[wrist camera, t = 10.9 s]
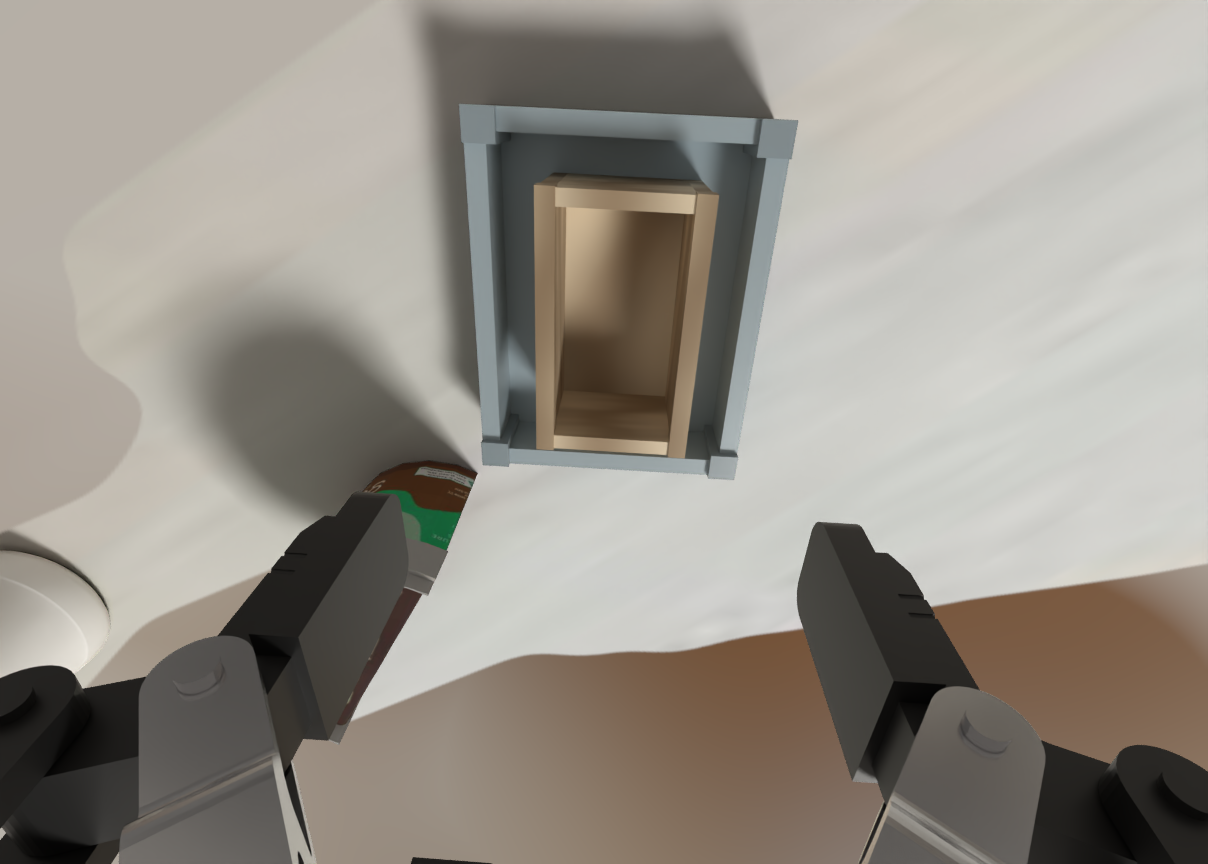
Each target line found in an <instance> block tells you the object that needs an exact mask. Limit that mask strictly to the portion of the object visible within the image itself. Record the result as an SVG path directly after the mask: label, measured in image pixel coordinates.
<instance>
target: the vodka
mask: <svg viewBox="0 0 1208 864" xmlns="http://www.w3.org/2000/svg"><path fill="white" fill-rule="evenodd" d="M110 625H111V624H110V617H109V614H108V611H107V609H106V607H105V605H104V603H103V602H102V600H101V598H100V597H99V596H98V594H97V593H96V592H95V590H94V589H93V588H92V587H91V586H90V585H89V584H88V583H87V582H86V581H84V580H83V579H82V578H81V577H79V576H78V575H77V574H75V573H74V572H72V571H71V570H69V569H67V568H65V567H64V566H62V565H60V564H57V563H55V562H53V561H50V560H48V559H45V558H42V557H39V556H35V555H31V554H27V553H22V552H17V551H0V678H1V677H4V676H6V675H8V674H11V673H14V672H17V671H20V670H23V669H27V668H31V667H37V666H45V665H55V666H62V667H65V668H67V669H69V670H71V671H72V672H73V674H74V673H76V672H78V671H79V670H80V669H81V668H83V667H84V666H85V665H86V664H87V663H88V662H89V661H90V660H91V659H92V658H93V657H94V656H95V655H96V654H97V653H98V652H99V651H100V650H101V649H102V648H103V647H104V645H105V643H106V640H107V637H108V635H109V631H110Z"/></svg>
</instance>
